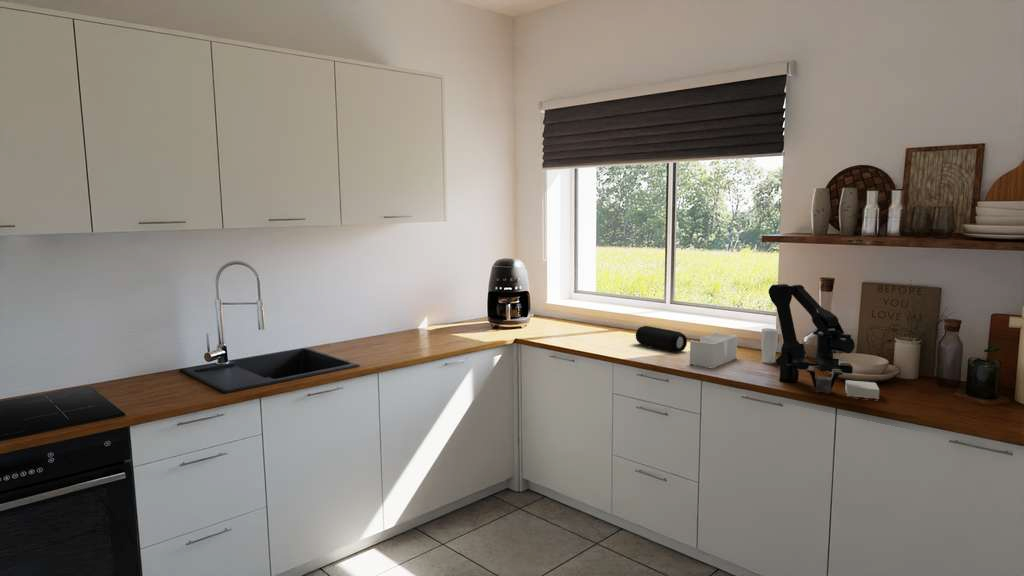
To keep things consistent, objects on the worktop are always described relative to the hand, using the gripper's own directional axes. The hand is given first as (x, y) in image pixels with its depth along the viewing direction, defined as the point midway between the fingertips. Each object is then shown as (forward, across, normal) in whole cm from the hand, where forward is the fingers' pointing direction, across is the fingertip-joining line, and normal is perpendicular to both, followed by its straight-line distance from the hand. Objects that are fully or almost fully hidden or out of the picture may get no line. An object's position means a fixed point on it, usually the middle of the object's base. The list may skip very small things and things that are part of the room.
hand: (822, 388), depth 243 cm
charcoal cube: (+1, 0, 0) cm, 1 cm away
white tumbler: (+1, -20, +42) cm, 47 cm away
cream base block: (+1, +13, 0) cm, 13 cm away
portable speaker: (+2, -70, +54) cm, 88 cm away
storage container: (+2, -43, +35) cm, 55 cm away
